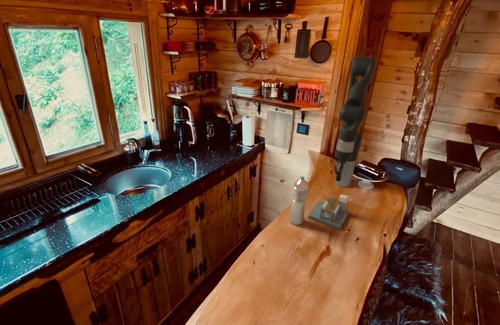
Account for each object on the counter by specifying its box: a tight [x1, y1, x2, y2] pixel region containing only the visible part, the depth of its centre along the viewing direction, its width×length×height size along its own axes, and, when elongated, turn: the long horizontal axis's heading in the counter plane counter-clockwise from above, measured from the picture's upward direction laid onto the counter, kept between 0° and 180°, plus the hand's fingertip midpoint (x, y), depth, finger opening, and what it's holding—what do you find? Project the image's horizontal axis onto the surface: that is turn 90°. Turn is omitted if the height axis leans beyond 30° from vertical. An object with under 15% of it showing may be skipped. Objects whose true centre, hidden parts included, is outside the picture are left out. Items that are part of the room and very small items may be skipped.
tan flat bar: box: [324, 197, 338, 213], centre depth 138 cm, size 14×3×1 cm, turn 148°
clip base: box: [307, 194, 350, 231], centre depth 138 cm, size 16×16×8 cm
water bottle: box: [289, 175, 310, 226], centre depth 130 cm, size 7×7×25 cm
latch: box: [338, 193, 350, 204], centre depth 139 cm, size 3×4×3 cm
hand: (338, 180), depth 136 cm, fingers closed
